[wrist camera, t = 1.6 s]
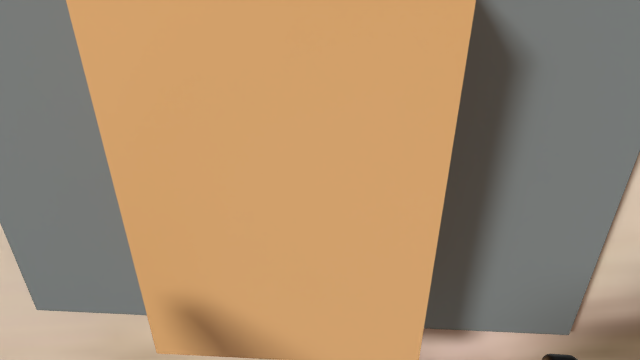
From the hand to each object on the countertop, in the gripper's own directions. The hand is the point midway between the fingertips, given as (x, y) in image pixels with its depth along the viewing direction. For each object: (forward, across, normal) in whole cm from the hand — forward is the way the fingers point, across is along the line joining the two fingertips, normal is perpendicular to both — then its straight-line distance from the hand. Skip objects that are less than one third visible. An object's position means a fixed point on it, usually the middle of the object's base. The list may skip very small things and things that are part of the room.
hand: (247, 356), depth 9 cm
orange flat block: (+6, 0, 0) cm, 6 cm away
